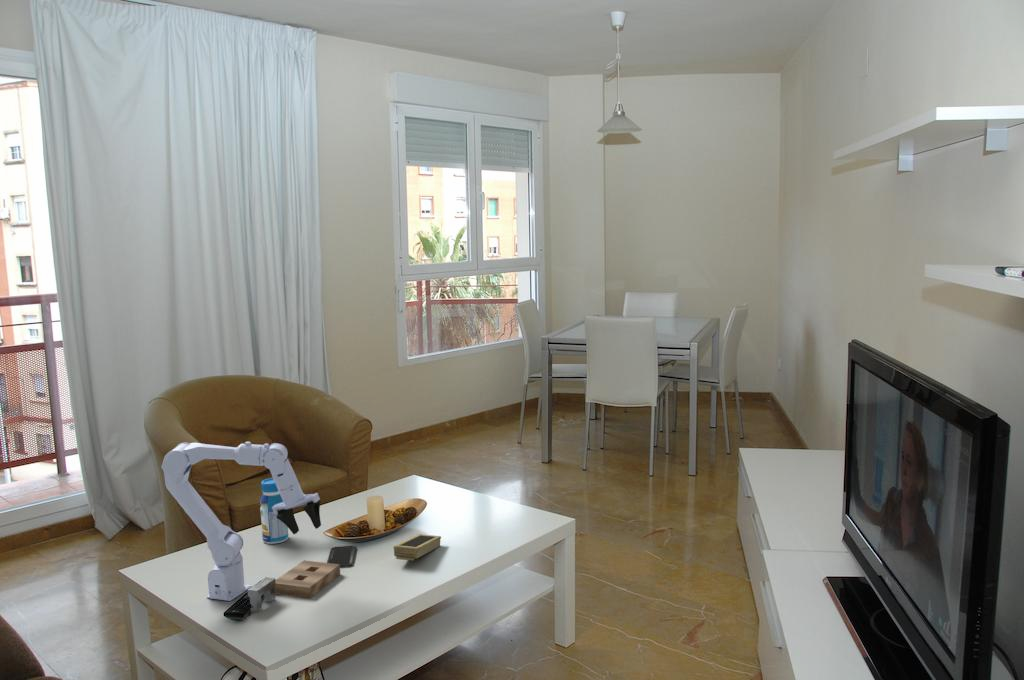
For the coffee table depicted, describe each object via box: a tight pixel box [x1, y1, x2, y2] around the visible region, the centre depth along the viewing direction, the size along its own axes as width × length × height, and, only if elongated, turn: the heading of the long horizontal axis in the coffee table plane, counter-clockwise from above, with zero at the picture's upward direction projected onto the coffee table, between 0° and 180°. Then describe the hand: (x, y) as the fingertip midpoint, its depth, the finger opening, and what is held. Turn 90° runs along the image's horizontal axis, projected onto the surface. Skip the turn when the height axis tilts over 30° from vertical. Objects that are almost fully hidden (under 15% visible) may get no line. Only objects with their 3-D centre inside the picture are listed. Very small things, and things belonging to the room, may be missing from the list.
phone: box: [326, 545, 357, 569], centre depth 242 cm, size 8×1×15 cm
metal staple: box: [247, 576, 277, 613], centre depth 211 cm, size 8×3×6 cm, turn 162°
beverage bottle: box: [259, 477, 289, 545], centre depth 257 cm, size 8×8×20 cm
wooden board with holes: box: [274, 559, 341, 599], centre depth 224 cm, size 16×12×3 cm
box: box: [393, 533, 442, 562], centre depth 243 cm, size 8×22×5 cm, turn 165°
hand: (307, 529), depth 220 cm, fingers open, 7 cm apart
